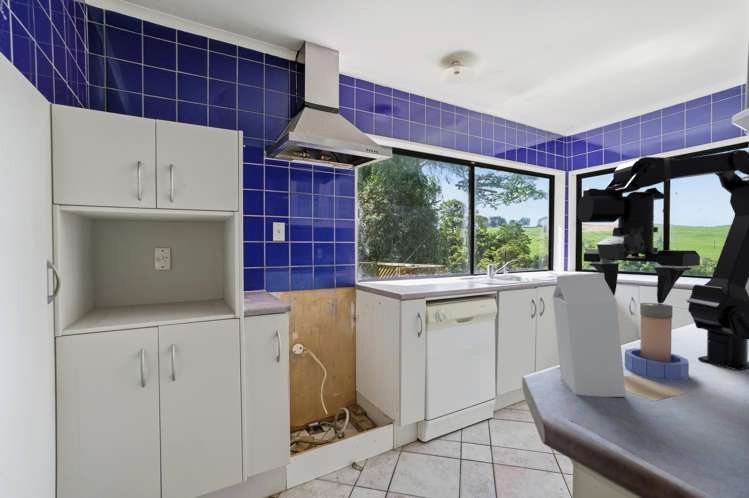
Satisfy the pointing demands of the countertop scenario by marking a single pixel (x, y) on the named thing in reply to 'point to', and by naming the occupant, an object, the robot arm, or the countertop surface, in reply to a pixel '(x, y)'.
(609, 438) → the countertop surface
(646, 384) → the cork mat
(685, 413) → the countertop surface
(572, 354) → the milk carton
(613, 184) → the robot arm
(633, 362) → the bowl
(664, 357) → the spice jar
